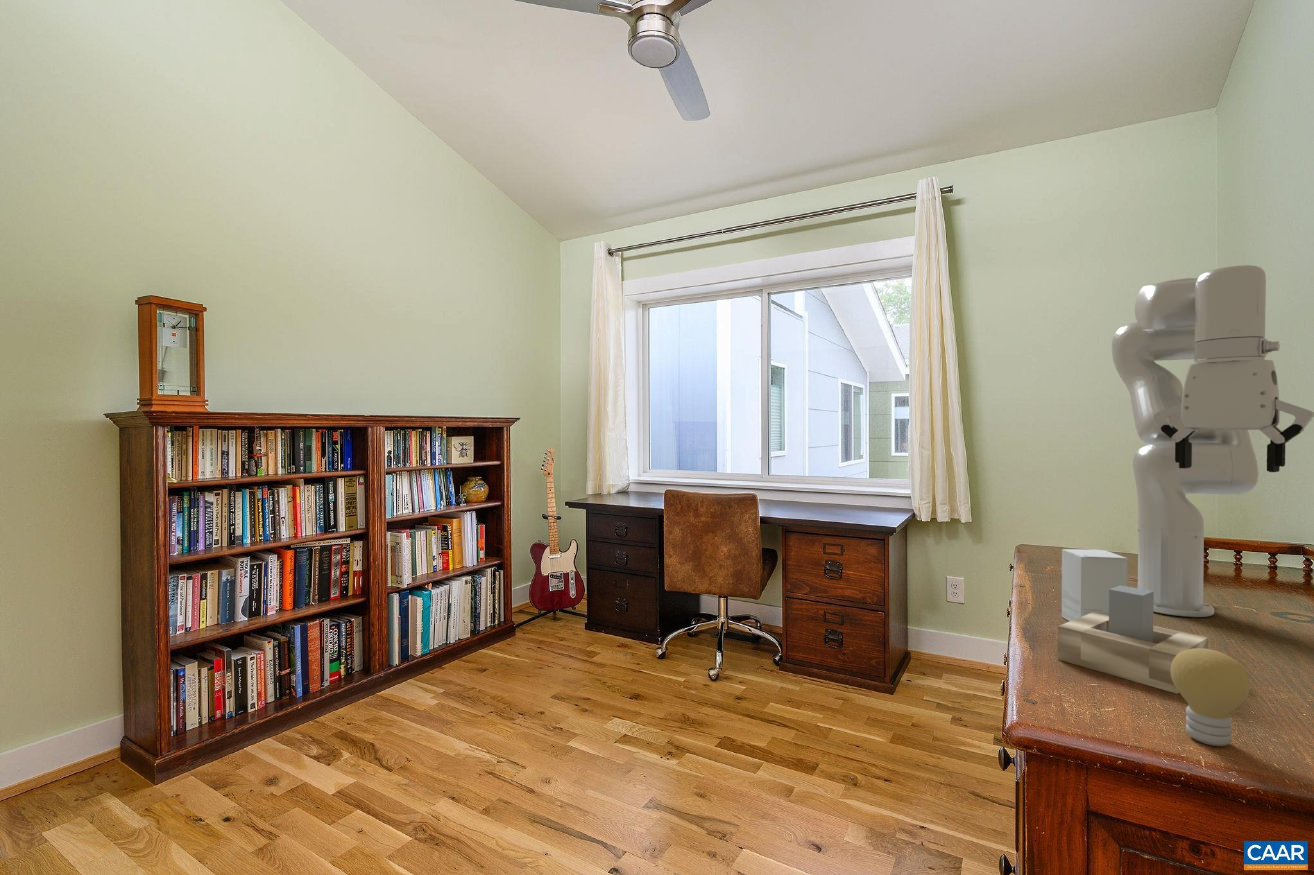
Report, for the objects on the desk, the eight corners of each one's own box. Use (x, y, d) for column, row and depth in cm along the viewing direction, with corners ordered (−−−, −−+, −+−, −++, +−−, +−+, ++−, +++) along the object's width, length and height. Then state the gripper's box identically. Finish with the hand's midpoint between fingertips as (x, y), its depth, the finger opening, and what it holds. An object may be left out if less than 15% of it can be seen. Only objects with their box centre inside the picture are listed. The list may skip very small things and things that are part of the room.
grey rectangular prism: (1119, 652, 90) (1120, 585, 90) (1153, 660, 87) (1153, 591, 86) (1108, 657, 88) (1109, 589, 88) (1142, 666, 84) (1142, 595, 84)
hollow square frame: (1092, 643, 96) (1092, 612, 96) (1207, 672, 85) (1208, 637, 85) (1057, 659, 90) (1057, 626, 90) (1177, 693, 78) (1177, 655, 78)
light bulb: (1155, 727, 69) (1155, 641, 69) (1206, 725, 70) (1207, 639, 70) (1210, 757, 63) (1211, 662, 63) (1266, 754, 63) (1267, 660, 63)
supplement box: (1129, 632, 101) (1129, 558, 101) (1079, 630, 103) (1080, 556, 103) (1105, 619, 109) (1106, 549, 108) (1060, 616, 110) (1060, 547, 110)
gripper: (1321, 348, 83) (1319, 472, 84) (1164, 360, 98) (1163, 466, 98) (1308, 344, 79) (1306, 474, 79) (1146, 357, 94) (1145, 467, 94)
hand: (1227, 469), depth 89 cm, fingers open, 9 cm apart
